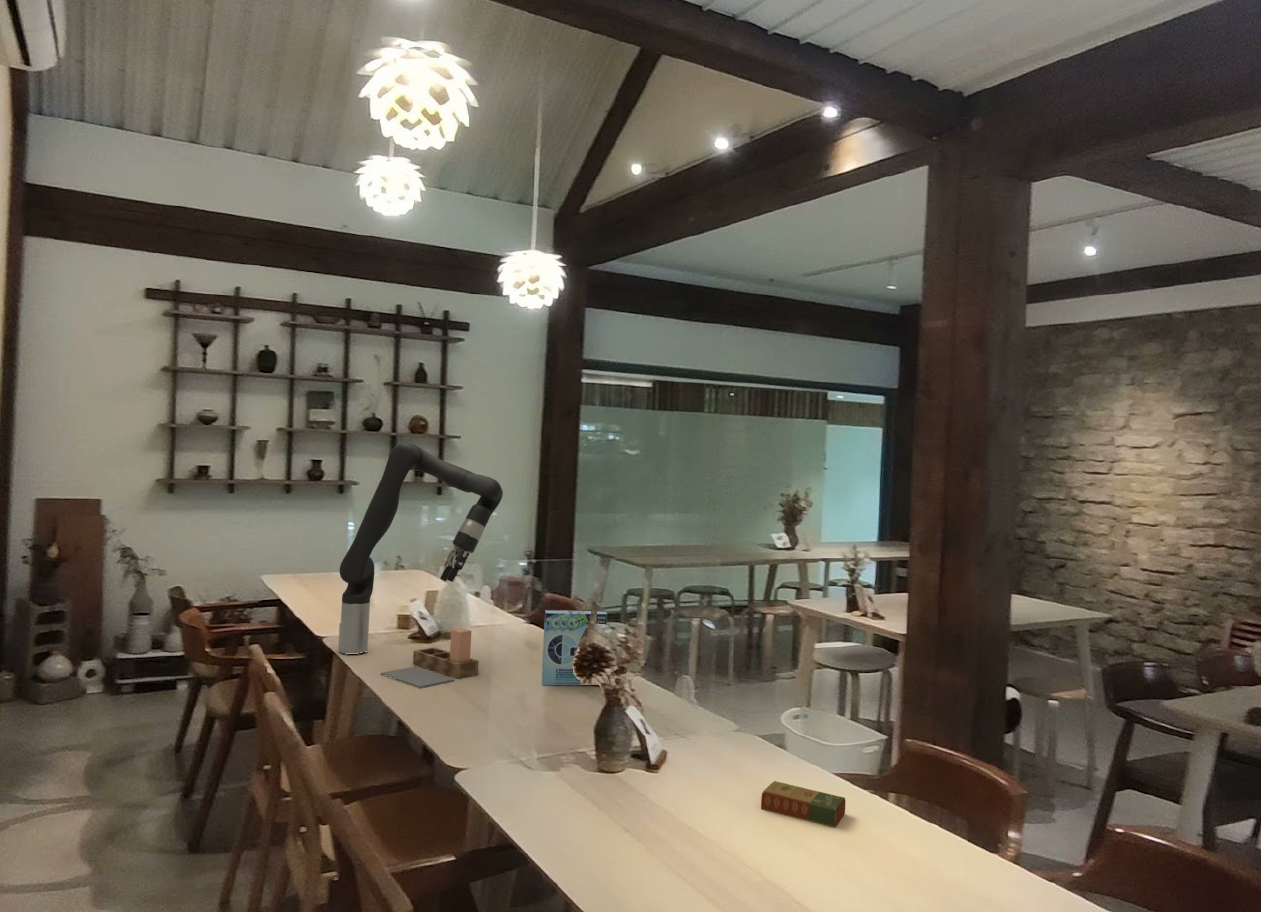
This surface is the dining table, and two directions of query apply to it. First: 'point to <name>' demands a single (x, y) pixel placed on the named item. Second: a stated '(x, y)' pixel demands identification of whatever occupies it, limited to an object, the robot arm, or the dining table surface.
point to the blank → (460, 645)
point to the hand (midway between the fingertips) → (446, 580)
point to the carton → (803, 804)
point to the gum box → (563, 644)
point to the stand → (444, 663)
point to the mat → (418, 677)
